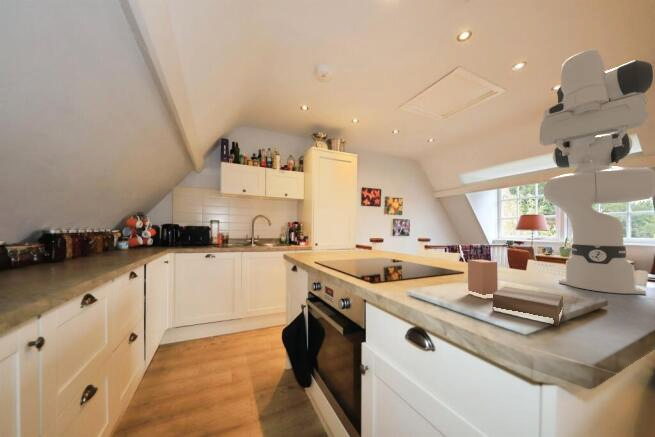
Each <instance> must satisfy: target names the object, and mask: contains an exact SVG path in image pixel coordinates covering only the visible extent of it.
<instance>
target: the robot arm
mask: <svg viewBox="0 0 655 437" xmlns="http://www.w3.org/2000/svg"><path fill="white" fill-rule="evenodd" d="M602 57H603V56H602V55H601V53H600V51H599V50H598V49H588V50H584V51H582V52H579V53H577V54H575V55H572V56H571V57H569V58H567V59H566V60H565V61H564V62H563V63H562V65H561V71H560V86H559V88H558V90H557V91H556V94H557V103H556V104H554V105H552V106H550V107H548V108H547V109H545V110H544V112H543V120H542V121H541V122H540V126H539V127H540V128H539V145H541V146H543V147H546V146H550V145H551V146H552V145H556V147H555V148H554V151H553V153H552V159H553V162H554V164H555V165H556V166H557V167H558V168H561V169H562V168H564V169H565V168H570V167H576V168H575V170H574V171H573V173H565V174H562V175H558V176H554V177H550V178H549V179H548V180H547V181H546V182H545V184H544V187H543V190H542V192H543V197H544V198H545V199H546V200H547V202H549V203H551V204H552V205H554V206H556V207H557V208H560V210H561V211H563V212H564V213H565V214H566V216H567V217H568V219H569V221H570V225H571V229H572V241H573V242H572V244H571V248H570V250H571V255H572V256H571V257H570V258H568V259H566V261H565V278H561V279H559V280H558V283H559V284H563V285H567V286H571V287H574V288H578V289H583V290H584V289H585V290H591V291H594V292H595V291H596V292H602V293H612V294H613V293H614V294H626V295H627V294H635V295H636V294H637V295H646V294H647V291H646V290H645V289H642V288H640V287H638V286H637V284H636V273H635V265H633V264H632V263H630V262H629V261H628V260H627V259H626V258H627V247H626V246H624V225H623V223H622V221H621V220H620V219H619V218H617V217H615V216H613V215H609V214H606V213H603V212H599V211H597V210H595V209H594V208H593V205H597V204H598V205H600V204H622V203H631V202H638V201H642V200H643V201H644V200H648V199H651V198H652V197H654V196H655V170H654V169H652V168H650V167H629V166H628V167H627V166H617V165H615V166H614V165H611V164H614V163H615V164H618V163H619V161H621V160H623V159H624V158H625V157H627V156H628V155H629V154H630V151H631V150H632V147H633V139H632V137H631V136H629V134H628V133H627V132H628V130H629V129H630V130H631V129H635V128H636V129H637V128H639V127H643V126H644V125H645V124H646V123H647V122H648V120H649V119H650V114H649V109H648V108H647V105H646V104H647V103H648V97H647V94H646V92H647V91H648V90H649V89H651V87H652V85H653V84H652V83H653V82H654V78H655V70H654V68H653V66H652V63H651V62H648V61H646V60H645V61H644V60H638V59H634V60H631V61H630V62H627V63H624V64H622V65H619V66H618V67H614V68H612V69H610V70H606V67H605V64H604V63H605V62H604V60H603V58H602Z"/></svg>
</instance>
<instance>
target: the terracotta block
mask: <svg viewBox="0 0 655 437" xmlns="http://www.w3.org/2000/svg"><path fill="white" fill-rule="evenodd" d="M498 279H499V278H498V261H493V260H487V259H468V260H467V291H468V290H469V291H472V292H476V293H479V294H482V295H486V294H493V293H495V292H496V291H498V290H499V289H498V284H499V283H498Z"/></svg>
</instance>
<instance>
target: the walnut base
mask: <svg viewBox="0 0 655 437" xmlns="http://www.w3.org/2000/svg"><path fill="white" fill-rule="evenodd" d="M493 307H496V308H501V309H506V310H512V311H518V312H523V313H529V314H533V315H538V316H543V317H549V318H553V320H554V323H553V324H552V326H557V327H558V326H559V325H560V323H561V320H560V321H559V314H560V312H561V310H562V307H563V308H564V295H561V294H555V293H549V292H542V291H535V290H531V289H530V290H528V289H522V288H517V287H510V286H503V287H501V288H500V289H498V291H496V292H495V293H493V299H492V308H493Z"/></svg>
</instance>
